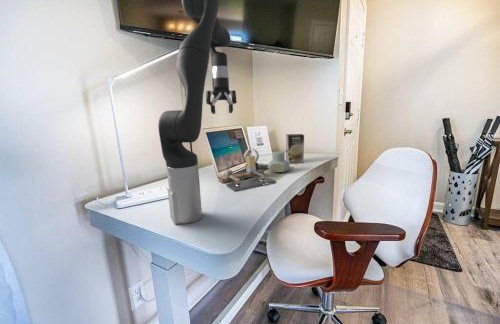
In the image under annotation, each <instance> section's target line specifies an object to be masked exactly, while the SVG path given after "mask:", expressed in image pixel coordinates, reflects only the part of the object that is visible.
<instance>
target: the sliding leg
mask: <svg viewBox="0 0 500 324" xmlns="http://www.w3.org/2000/svg"><path fill="white" fill-rule="evenodd" d="M255 158H256V155H252V154H250V155H249V156H246V160H247V162H246V164H247V166H246V165H245V170H246V172H248V173H253V174H256V175H258V176H259V178H260V177H262V179H264V177H265V174H264V175H263V174H260V173H258V172H256V170H257V169H256V167H255Z"/></svg>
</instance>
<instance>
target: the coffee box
mask: <svg viewBox="0 0 500 324" xmlns="http://www.w3.org/2000/svg"><path fill="white" fill-rule="evenodd" d="M285 136H286V137H285V138H286V139H285V160H286V161H287V162H288V163H289V165H290V164H304V163H305V162H304V161H305V160H304V158H305V157H304V156H305V151H304V150H305V135H304V134H302V133H293V134H290V133H289V134H288V133H287V134H286V135H285Z"/></svg>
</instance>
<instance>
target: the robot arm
mask: <svg viewBox="0 0 500 324" xmlns="http://www.w3.org/2000/svg"><path fill="white" fill-rule="evenodd" d="M219 1H220V0H181V5H182V9H183V11H184V13H185V14H186V16H188V17H189V18H190V19H191V20H192V21H194V22H195V24H196V25H197V26H195V28H194V29H193V30H192V31H191V32H190V33H189V34H188V35H187V36H186V37H184V39H183V41H182V42H181V43H180V45H179V48H178V53H177V57H176V58H177V59H176V66H175V69H176V73H177V76H178V78H179V80H180V82H181V84H182V86H183V88H184V89H183V90H184V91H185V92H184V93H185V100H184V101H185V103H184V108H183V110H178V109H177V110H165V111H163V112H162V113H161V114H160V116H159V119H158V133H159V134H158V135H159V141H160V145H161V153H162V157H163V159H164V161H165V166H166V174H167V181H168V182H167V183H168V188H167V196H168V203H169V204H168V205H169V214H170V218H171V220H172V222H173V223H174V225H178V224H182V225H183V224H190V223H191V224H192V223H195V222H196V221H199V220H200V219H201V218H202V217H203V208H202V207H203V206H202V198H201V197H202V196H201V185H200V173H199V161H198V159H199V158H198V155H197V154H196V153H195V152H193V151H190V150H189V149H188V148H186V147H185V145H183V143H195V142H196V141H197V140H198V139H199V137H200V134H201V130H202V119H203V104H204V103H203V102H204V92H205V98H206V99H205V102H206V103H205V104H206V105H209V106H210V112H211V114H212V115H215V114H216V106H215V105H216V103H217V102H218V101H225V102H226V103H228V114H233V111H234V105H235V104H237V103H238V102H237V93H236V90H230V84H229V83H230V80H229V78H230V77H229V70H228V68H229V67H228V55H227V53H225V52H222V51H219V50H218V51H217V50H216V48H222V47H223V48H224V47H225V48H226V47H228V46H229V44H230V42H231V35H230V32H229V30H228V29H227V28H226V27H224V26H223V25H222V24H221V22H220V20H219V18H218V17H217V15H218V11H219V4H220V2H219ZM210 57H211V58H210ZM210 59H211V61H209V60H210ZM209 62H211V81H212V83H211V84H212V90H206V91H205V84H206V78H207V72H208V69H209ZM212 95H213V98H212V97H211V96H212ZM230 96H231V98H230Z"/></svg>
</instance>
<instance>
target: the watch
mask: <svg viewBox="0 0 500 324" xmlns="http://www.w3.org/2000/svg"><path fill="white" fill-rule="evenodd" d="M252 151H253V152H254V153H255V167H256V170H258V169H259V163H258V160H259V158H260V155H259V152H258V150H257V149H255V148H247V150H246V151H245V152H244V154H243V157H244V160H245V162H246V163H245V167H246V166H247V160H246V156H251V155H252ZM257 168H258V169H257Z"/></svg>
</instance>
